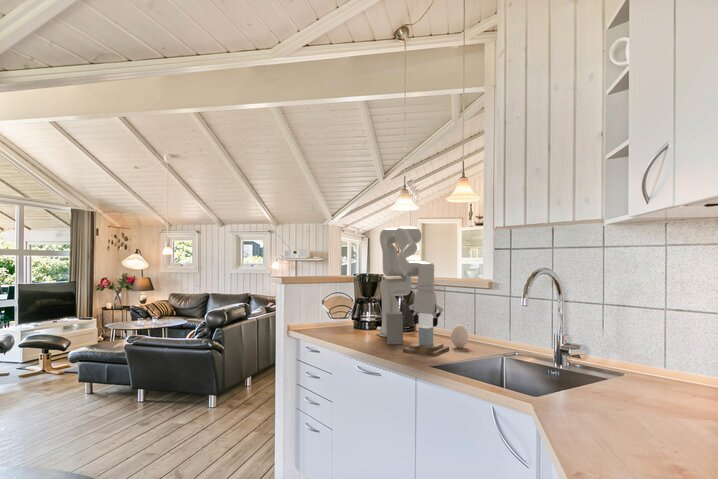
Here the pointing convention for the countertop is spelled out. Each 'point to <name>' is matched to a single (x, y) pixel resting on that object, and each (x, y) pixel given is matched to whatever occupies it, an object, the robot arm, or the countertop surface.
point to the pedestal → (426, 349)
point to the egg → (459, 336)
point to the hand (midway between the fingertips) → (425, 325)
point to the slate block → (425, 335)
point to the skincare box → (394, 327)
